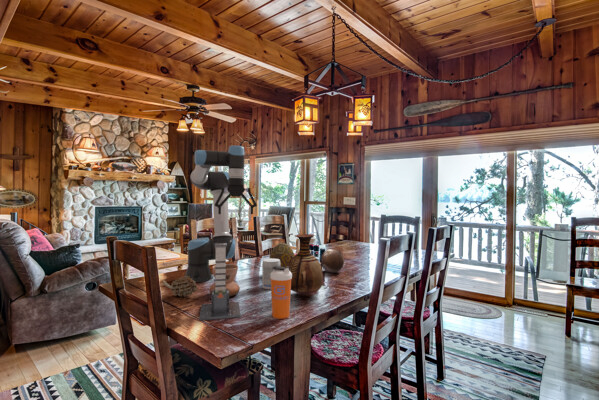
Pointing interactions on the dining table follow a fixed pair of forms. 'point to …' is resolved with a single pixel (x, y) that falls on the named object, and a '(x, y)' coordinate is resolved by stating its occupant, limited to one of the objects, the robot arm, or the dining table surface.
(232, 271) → the ceramic jug
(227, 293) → the stand base
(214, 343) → the dining table surface
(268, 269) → the supplement tub
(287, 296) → the shaker bottle
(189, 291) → the pine cone
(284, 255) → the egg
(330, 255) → the wooden sphere
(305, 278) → the vase
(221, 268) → the column
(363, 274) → the dining table surface
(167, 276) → the dining table surface
